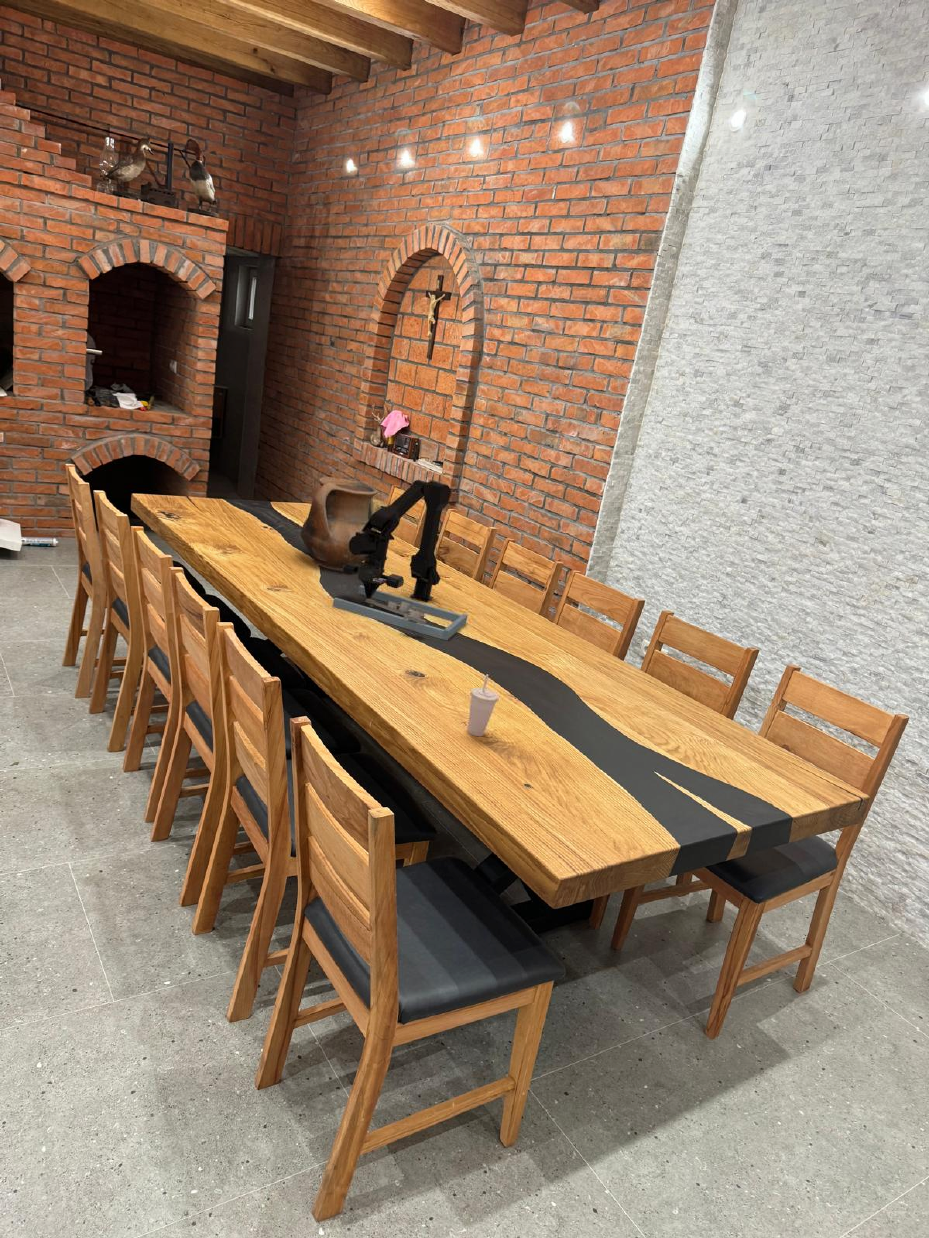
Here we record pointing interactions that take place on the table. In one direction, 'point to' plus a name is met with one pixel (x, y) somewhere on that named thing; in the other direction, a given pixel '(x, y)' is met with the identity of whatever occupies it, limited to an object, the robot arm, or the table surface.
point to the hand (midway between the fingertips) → (368, 600)
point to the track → (403, 622)
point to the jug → (337, 521)
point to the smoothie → (481, 709)
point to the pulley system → (411, 614)
